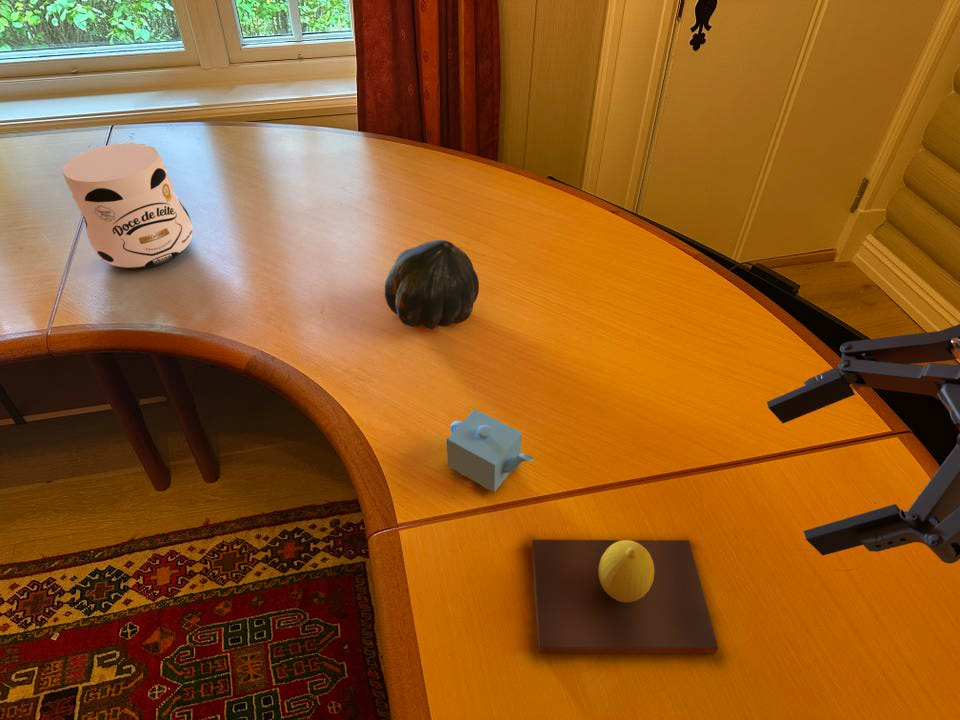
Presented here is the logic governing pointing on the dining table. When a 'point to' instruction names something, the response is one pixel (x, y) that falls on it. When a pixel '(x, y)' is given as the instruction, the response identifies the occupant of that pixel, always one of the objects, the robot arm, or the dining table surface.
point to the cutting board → (618, 602)
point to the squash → (432, 285)
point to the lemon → (626, 571)
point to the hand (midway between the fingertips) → (791, 472)
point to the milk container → (128, 205)
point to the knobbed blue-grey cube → (484, 449)
